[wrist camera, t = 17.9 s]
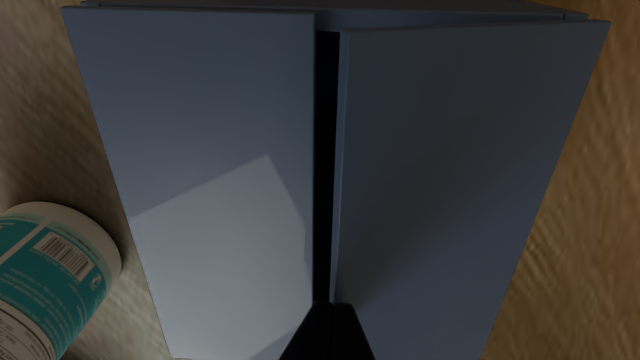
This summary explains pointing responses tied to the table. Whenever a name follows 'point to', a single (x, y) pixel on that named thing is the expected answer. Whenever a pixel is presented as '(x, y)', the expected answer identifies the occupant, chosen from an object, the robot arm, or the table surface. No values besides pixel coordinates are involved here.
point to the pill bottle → (50, 278)
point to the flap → (446, 171)
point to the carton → (235, 148)
